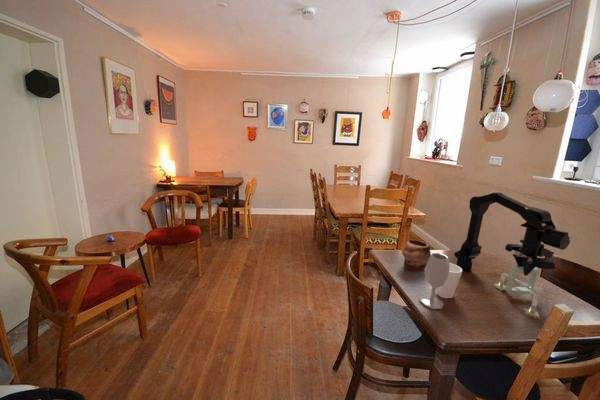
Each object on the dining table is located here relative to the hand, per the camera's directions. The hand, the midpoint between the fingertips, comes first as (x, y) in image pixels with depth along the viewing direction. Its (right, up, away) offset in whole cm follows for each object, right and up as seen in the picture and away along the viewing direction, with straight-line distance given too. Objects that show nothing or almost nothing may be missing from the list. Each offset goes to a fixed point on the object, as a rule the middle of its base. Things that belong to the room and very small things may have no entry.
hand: (523, 274), depth 112 cm
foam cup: (-32, -10, +3) cm, 34 cm away
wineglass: (-42, -11, -4) cm, 43 cm away
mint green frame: (0, -8, +2) cm, 8 cm away
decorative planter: (-34, -4, +27) cm, 44 cm away
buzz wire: (-3, -11, +1) cm, 12 cm away
